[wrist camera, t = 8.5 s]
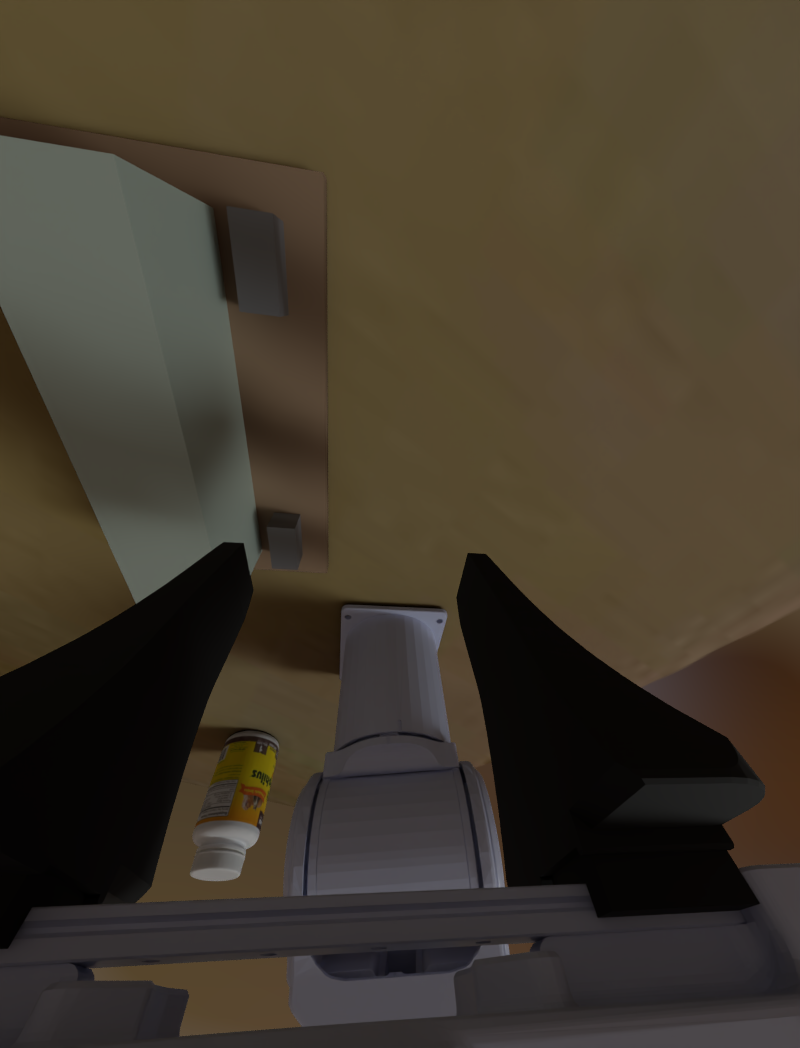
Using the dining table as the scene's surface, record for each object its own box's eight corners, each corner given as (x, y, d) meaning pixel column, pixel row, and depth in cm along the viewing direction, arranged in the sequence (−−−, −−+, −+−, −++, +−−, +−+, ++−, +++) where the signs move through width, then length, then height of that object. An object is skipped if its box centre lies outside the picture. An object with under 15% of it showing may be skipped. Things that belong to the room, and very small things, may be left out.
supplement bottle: (287, 749, 38) (260, 880, 29) (239, 754, 38) (198, 886, 29) (269, 725, 35) (232, 863, 26) (217, 731, 35) (164, 870, 26)
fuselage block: (262, 550, 21) (228, 620, 17) (195, 546, 21) (142, 616, 16) (213, 207, 12) (113, 154, 8) (94, 189, 12) (-84, 121, 7)
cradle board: (328, 565, 23) (323, 589, 21) (141, 554, 22) (117, 579, 20) (326, 179, 13) (316, 157, 11) (-33, 117, 11) (-116, 82, 9)
